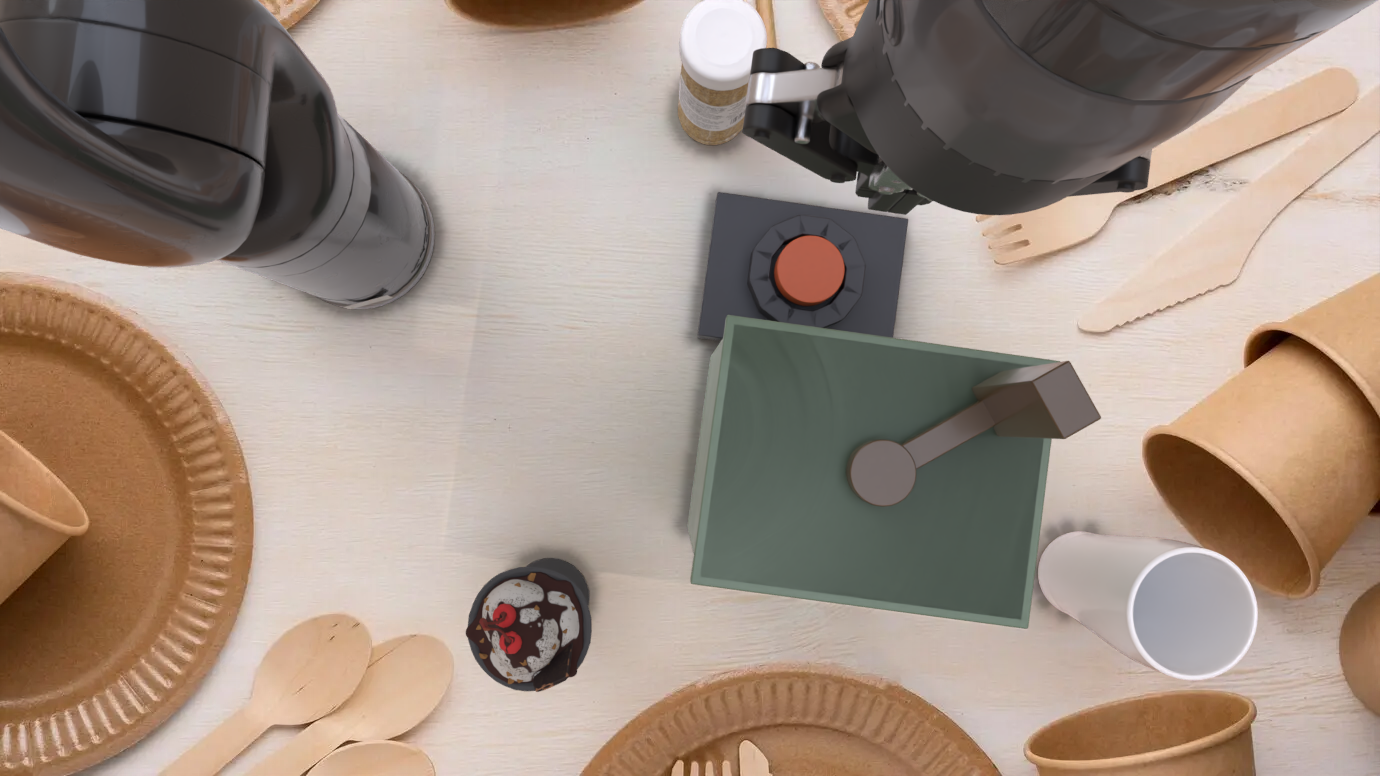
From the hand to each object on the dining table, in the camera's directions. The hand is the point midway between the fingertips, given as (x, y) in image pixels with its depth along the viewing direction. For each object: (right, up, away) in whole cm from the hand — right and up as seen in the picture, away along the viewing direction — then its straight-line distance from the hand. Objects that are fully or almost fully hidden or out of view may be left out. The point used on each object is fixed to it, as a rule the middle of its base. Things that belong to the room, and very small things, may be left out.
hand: (888, 186), depth 41 cm
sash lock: (+3, -10, +5) cm, 11 cm away
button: (-1, -1, +23) cm, 23 cm away
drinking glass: (+17, -19, +27) cm, 37 cm away
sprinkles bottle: (-6, +10, +27) cm, 30 cm away
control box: (-1, -1, +27) cm, 27 cm away
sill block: (0, -12, +27) cm, 29 cm away
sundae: (-17, -21, +26) cm, 37 cm away
